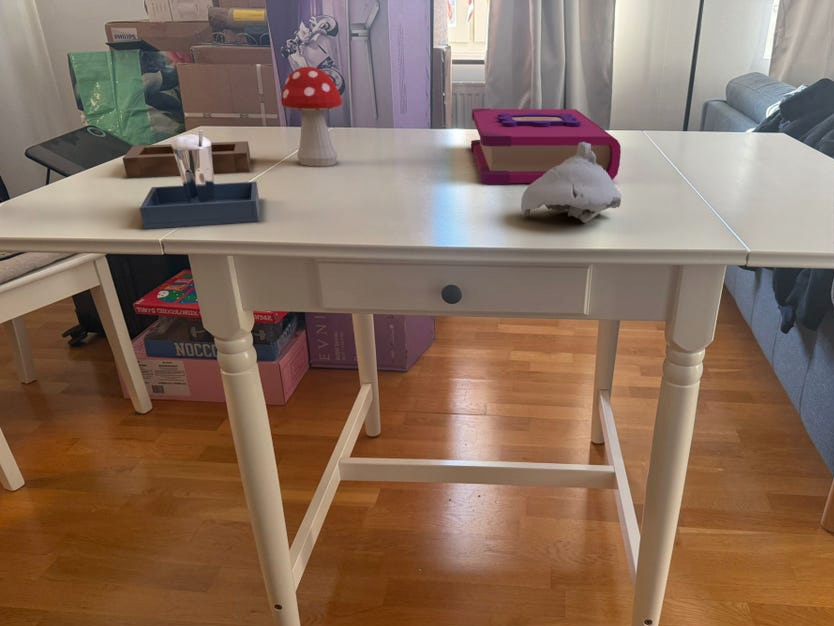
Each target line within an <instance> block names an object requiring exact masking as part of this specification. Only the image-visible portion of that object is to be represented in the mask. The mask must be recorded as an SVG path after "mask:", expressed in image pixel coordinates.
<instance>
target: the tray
mask: <svg viewBox="0 0 834 626" xmlns="http://www.w3.org/2000/svg"><path fill="white" fill-rule="evenodd" d="M214 184H215V193H216V202H210V203H193V204H188V200H187V197H186V193H185V190H184V186H183V185H169V186H165V185H164V186H151V187H150V190H149V192H148V193H147V194H146V197H145V198H144V200H143V202H142V203H141V205H140V207H139V212H140V215H141V216H140V217H141V219H142V220H141V221H142V224H143V229H144V230H151V229H165V228H166V229H167V228H180V227H181V228H182V227H196V226H197V227H198V226H210V225H224V224H225V225H227V224H238V223H239V224H240V223H254V222H255V223H256V222H259V221H260V196H259V189H258V182H257V181H243V182H224V183H223V182H221V183H214Z"/></svg>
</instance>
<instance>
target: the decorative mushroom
mask: <svg viewBox="0 0 834 626" xmlns="http://www.w3.org/2000/svg"><path fill="white" fill-rule="evenodd" d="M280 102H281V105H282V106H284V107H286V108H288V109H291V110H298V111H300V112H301V126H300V141H299V147H298V150H297V153H296V157H297V159H298V160H299V163H300V165H302V166H305V167H330V166H334V165H336V164H337V159H338V154H337V151H336V150H335V148H334V145H333V142H332V139H331V135H330V132H329V128H328V125H327V122H326V115H325V111H326V110H333V109H336V108H338V107H339V106H342V105H343V99H342V96H341V93H340V91H339V90H338V88H337V86H336V84H335V82H334V81H333V79H332V78H331V77H330V76H329V75H328V73H326V72H325V71H323V70H321V69H320V68H318V67H313V66H303V67H299V68H297V69H295V70H293V71H292V72H290V74H289V75H288V76H287V78H286V80H285V83H284V85H283V89H282V91H281V98H280Z"/></svg>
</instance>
